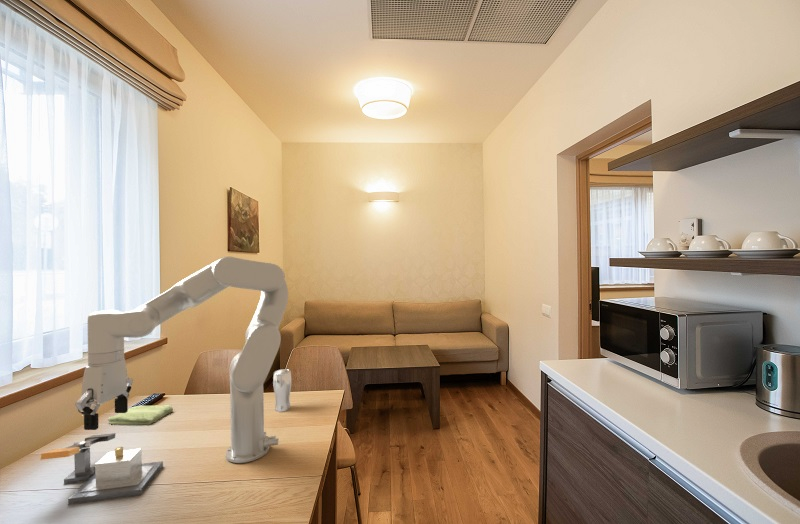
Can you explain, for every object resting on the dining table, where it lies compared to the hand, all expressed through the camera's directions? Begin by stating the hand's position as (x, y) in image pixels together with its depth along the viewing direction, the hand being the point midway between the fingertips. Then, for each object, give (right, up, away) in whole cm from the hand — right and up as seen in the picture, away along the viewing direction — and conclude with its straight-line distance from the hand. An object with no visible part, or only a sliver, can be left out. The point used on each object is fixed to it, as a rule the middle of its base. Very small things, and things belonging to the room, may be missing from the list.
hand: (107, 420), depth 95 cm
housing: (+3, -16, +1) cm, 16 cm away
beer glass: (+31, -17, +48) cm, 60 cm away
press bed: (-1, -18, +1) cm, 18 cm away
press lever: (-11, -9, +4) cm, 14 cm away
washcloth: (-21, -18, +41) cm, 50 cm away
